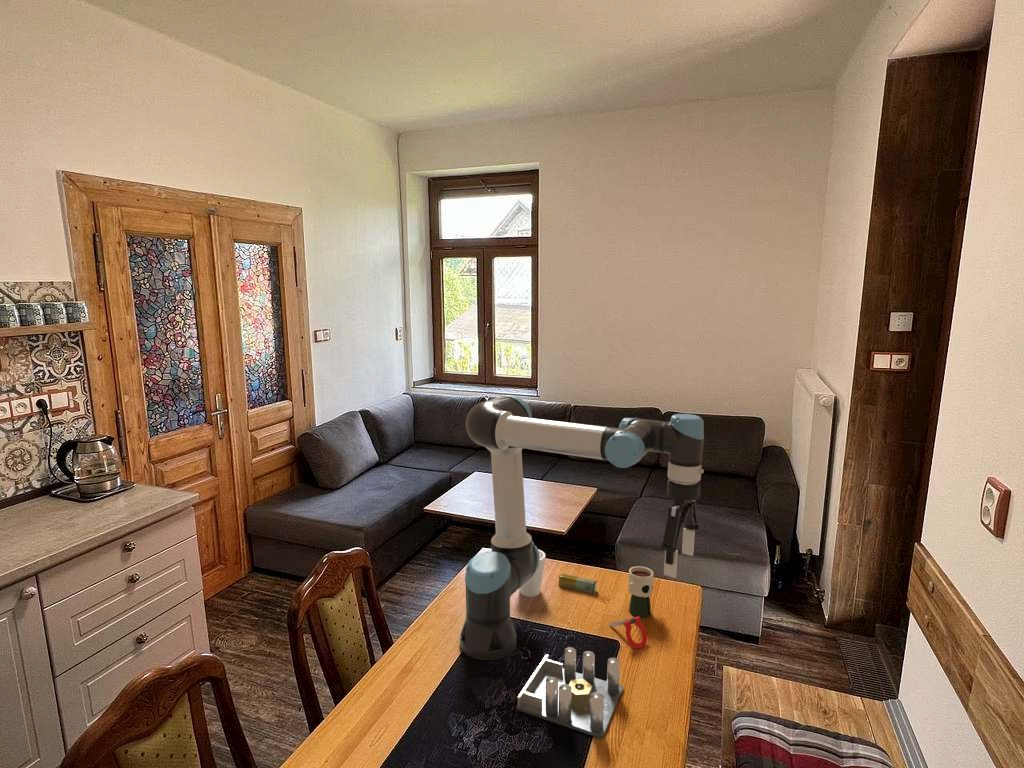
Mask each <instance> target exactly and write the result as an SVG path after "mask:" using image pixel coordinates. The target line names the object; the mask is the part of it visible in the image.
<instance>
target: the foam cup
mask: <svg viewBox="0 0 1024 768" xmlns="http://www.w3.org/2000/svg"><path fill="white" fill-rule="evenodd" d="M537 549H538V548H537ZM538 551H539V556H540V561H539V566H538V568H537V570H536V572H535V573H534V575H533V576H532V577H531V578H530V579H529V580H528V581H526V582H525V583H524V584H523V585H522V586H521V587H520V588H519V589H518V590H519V593H520V594H521V595H522V596H524V597H527V598H532V597H533V598H534V597H538V596H539V595H540V594H541V590H542V582H543V575H544V568H545V565H546V553H545V552H544V551H543V550H541V549H540V548H539V549H538Z"/></svg>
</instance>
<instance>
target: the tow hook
mask: <svg viewBox="0 0 1024 768" xmlns="http://www.w3.org/2000/svg"><path fill="white" fill-rule="evenodd" d="M634 624H635V625H634ZM622 625H623V626H624V627H625V628H626V629H625V637H626V641H627V642H628V643H629V645H630V646H631V647H633V648H634V649H642V648H643V647H645V646H646V644H647V642H648V641H647V640H648V633H647V629H646V627H645V626H644V624H643V623H642V622H641V617H639V616H636V617H632V618H631V617H630V618H628V619H623V620H621V621H614V622H612V623H609V626H610V627H611V626H614V627H617V626H622ZM632 625H634V626H636V627H637V628H639V630H640V631H641V637H642V638H641V640H640V642H635V640H633V638H632V634H631V631H632V629H633V627H632Z"/></svg>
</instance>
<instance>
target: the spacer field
mask: <svg viewBox="0 0 1024 768" xmlns="http://www.w3.org/2000/svg"><path fill="white" fill-rule="evenodd" d="M563 652H564V654H563V655H564V658H563V659H564V661H563V662H564V663H563V662H558V661H555V660H552V659H549V657H550V655H549V654H545V655H544V657H543V658H542V660H541V662H540V663H539V665H538V666H537V667H536V669H535V670H534V672H533V673H532V675H531V676H530V678H529V679H528V680H527V682H526V684H525V685H524V687H523V688H522V690H521V691H520V693H519V694H518V696H517V705H516V710H517V711H519V712H523V713H525V714H528V715H532V716H534V717H537V718H540V719H543V720H546V721H548V722H551V723H554V724H557V725H560V726H562V727H567V728H568V729H572V730H575V731H578V732H580V733H584V734H586V735H589V736H592V737H595V738H598V739H601V740H604V737H605V735H606V732H607V730H608V727H609V724H611V720H612V718H613V716H614V713H615V710H616V708H617V705H618V703H619V700H620V698H621V696H622V694H623V691H624V685H620V668H621V667H620V666H621V664H620V662H621V661H620V659H618V658H616V657H609V658H608V659H607V664H606V665H607V667H606V669H607V671H606V672H607V673H606V680H603V679H600V678H597V677H595V668H596V666H595V665H596V664H595V662H596V660H595V659H596V658H595V657H596V655H595V653H594V652H593V651H590V650H586V651H584V652H583V653H582V673H580V672H577V649H575V647H571V646H568V647H566V648H565V649H564V651H563ZM577 679H584V680H585V681H587V682H588V683H589V684H590V685H591V686H592V694H591V695H590V703H589V705H588V706H581V707H575V706H574V705H573V704H572V703H571V700H572V688H571V686H570V685H569V683H570V682H571V680H577Z"/></svg>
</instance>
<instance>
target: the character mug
mask: <svg viewBox="0 0 1024 768" xmlns="http://www.w3.org/2000/svg"><path fill="white" fill-rule="evenodd" d="M628 593H629V594H631V596H630V601H629V607H628V610H629V612H630V613H631V614H633V615H634V616H636V617H637V616H639V617H640V618H647V617H648V616H649V615H651V613H652V612H651V611H652V609H651V608H652V607H651V598H650V597H651V596H653V593H654V571H653V570H652V569H650V568H648V567H646V566H640V565H639V566H632V567H630V568H629V569H628Z"/></svg>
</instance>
